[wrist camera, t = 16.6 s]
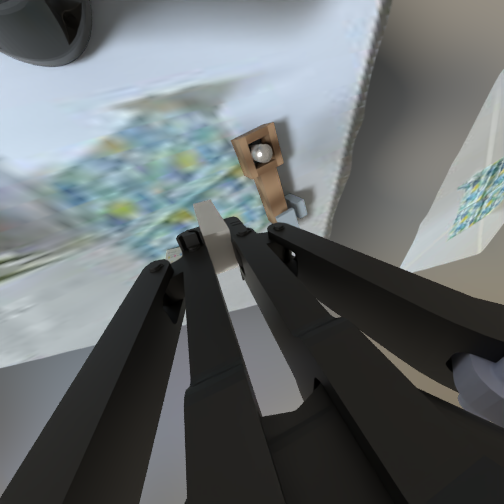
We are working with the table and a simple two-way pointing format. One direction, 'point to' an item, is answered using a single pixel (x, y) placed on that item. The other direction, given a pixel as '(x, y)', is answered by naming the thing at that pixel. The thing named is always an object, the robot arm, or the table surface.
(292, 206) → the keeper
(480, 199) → the table surface
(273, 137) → the link
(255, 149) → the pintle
